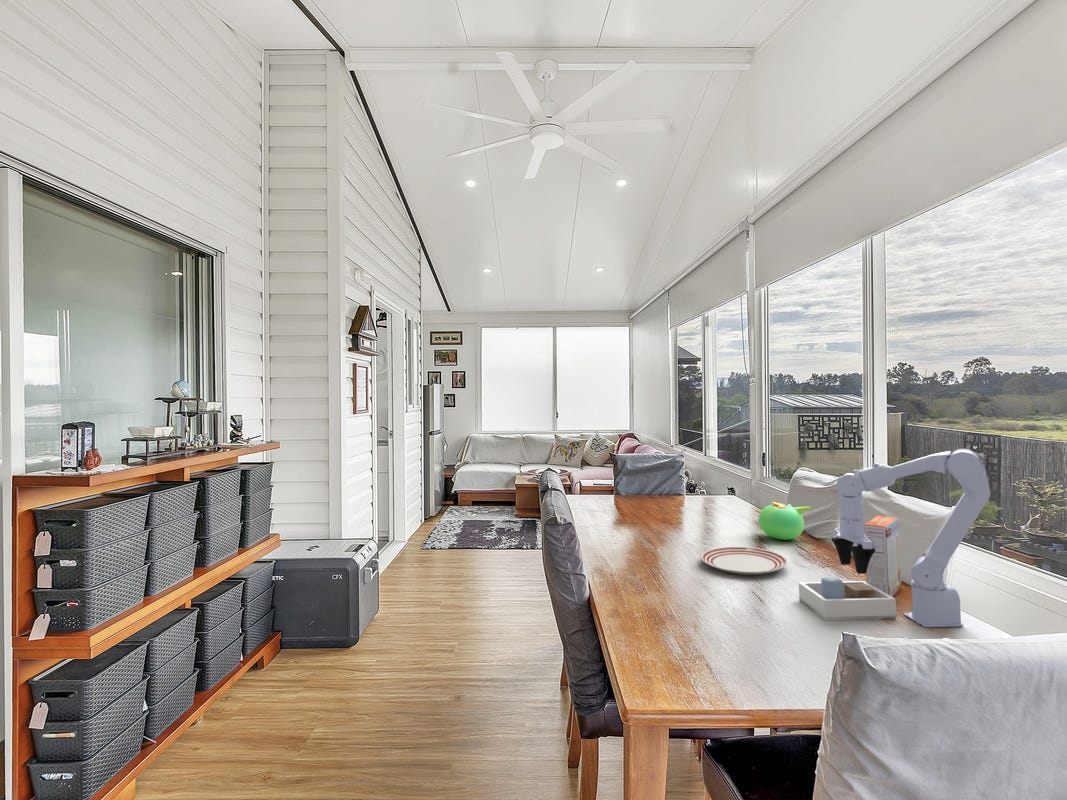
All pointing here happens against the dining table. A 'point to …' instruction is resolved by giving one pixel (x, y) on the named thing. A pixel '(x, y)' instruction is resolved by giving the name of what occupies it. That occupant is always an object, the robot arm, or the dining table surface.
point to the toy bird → (782, 520)
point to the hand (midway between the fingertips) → (853, 568)
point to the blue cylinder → (832, 588)
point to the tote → (847, 603)
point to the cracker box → (884, 554)
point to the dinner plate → (744, 560)
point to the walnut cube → (858, 591)
